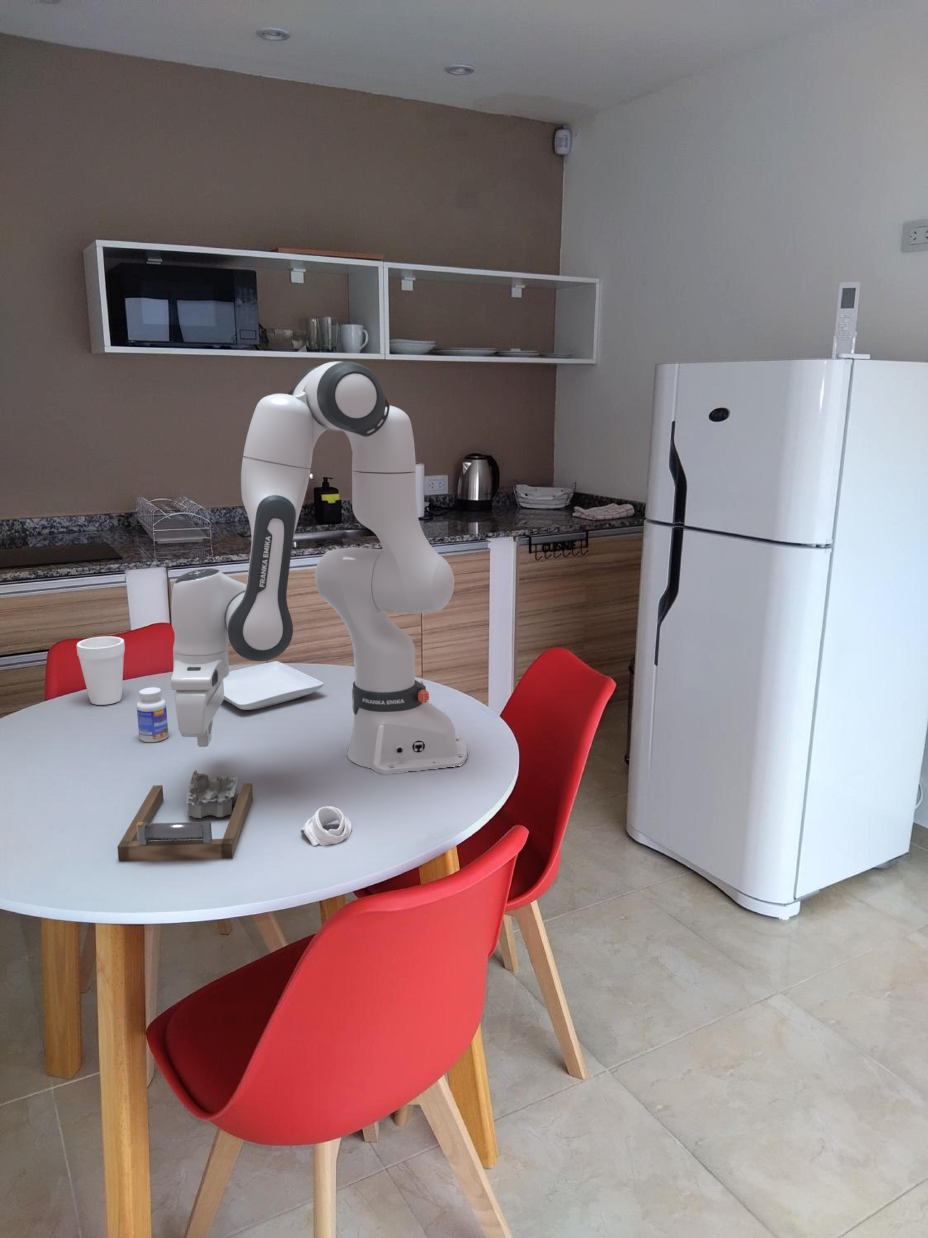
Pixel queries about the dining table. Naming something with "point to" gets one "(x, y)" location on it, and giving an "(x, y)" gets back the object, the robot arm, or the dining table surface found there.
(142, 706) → the pill bottle
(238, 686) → the salad plate
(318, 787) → the dining table surface
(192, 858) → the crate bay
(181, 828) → the winch
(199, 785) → the egg carton
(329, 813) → the white crumpled cloth
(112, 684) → the foam cup
